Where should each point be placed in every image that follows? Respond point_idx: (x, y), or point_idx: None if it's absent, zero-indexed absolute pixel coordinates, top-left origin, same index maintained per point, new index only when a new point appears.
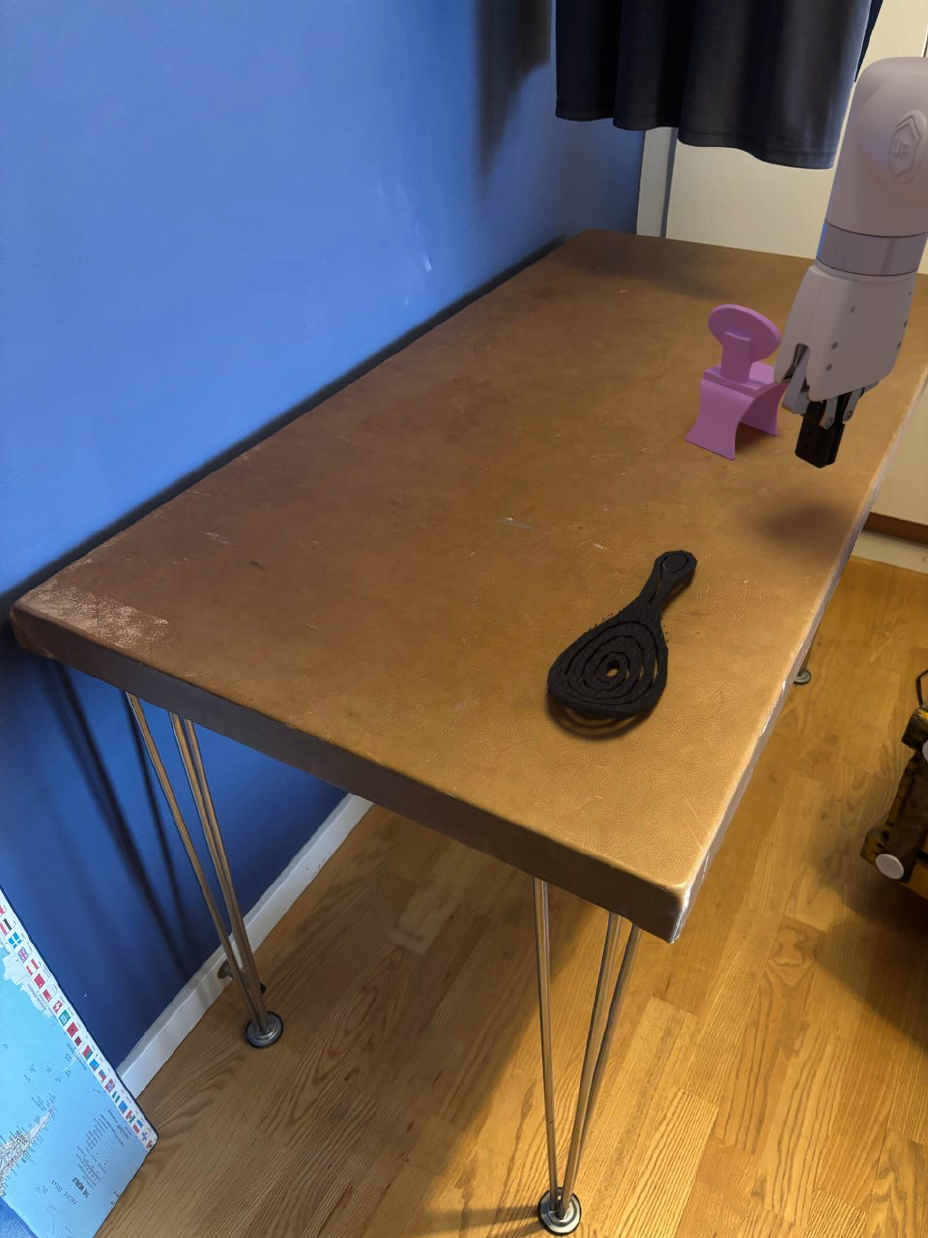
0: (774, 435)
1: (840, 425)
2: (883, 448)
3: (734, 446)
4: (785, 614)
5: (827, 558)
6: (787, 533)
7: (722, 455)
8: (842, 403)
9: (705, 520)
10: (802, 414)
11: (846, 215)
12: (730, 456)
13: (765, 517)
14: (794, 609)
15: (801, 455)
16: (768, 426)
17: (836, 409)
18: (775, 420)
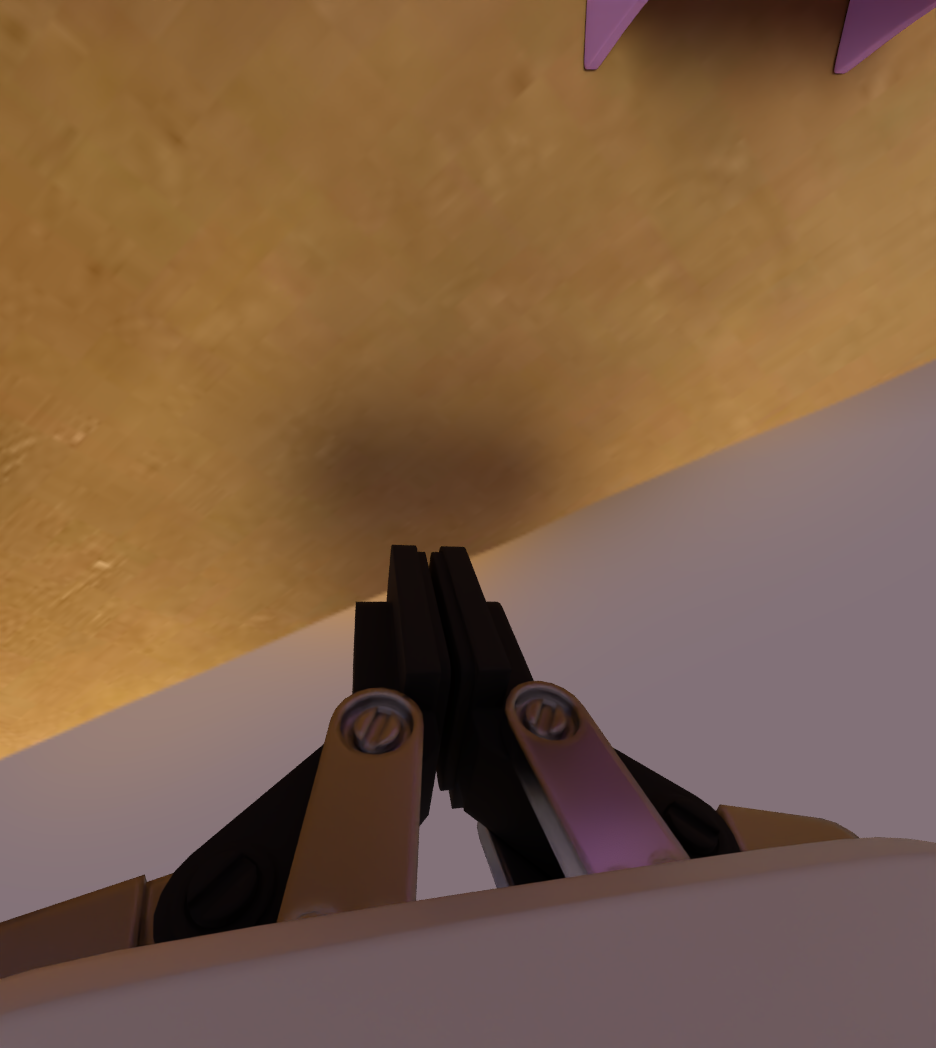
0: (834, 68)
1: (452, 802)
2: (886, 378)
3: (626, 26)
4: (113, 674)
5: (357, 596)
6: (361, 488)
7: (588, 1)
8: (535, 848)
9: (193, 295)
10: (302, 763)
11: None
12: (590, 46)
13: (374, 405)
14: (145, 671)
15: (389, 577)
16: (870, 11)
17: (493, 819)
18: (900, 23)
